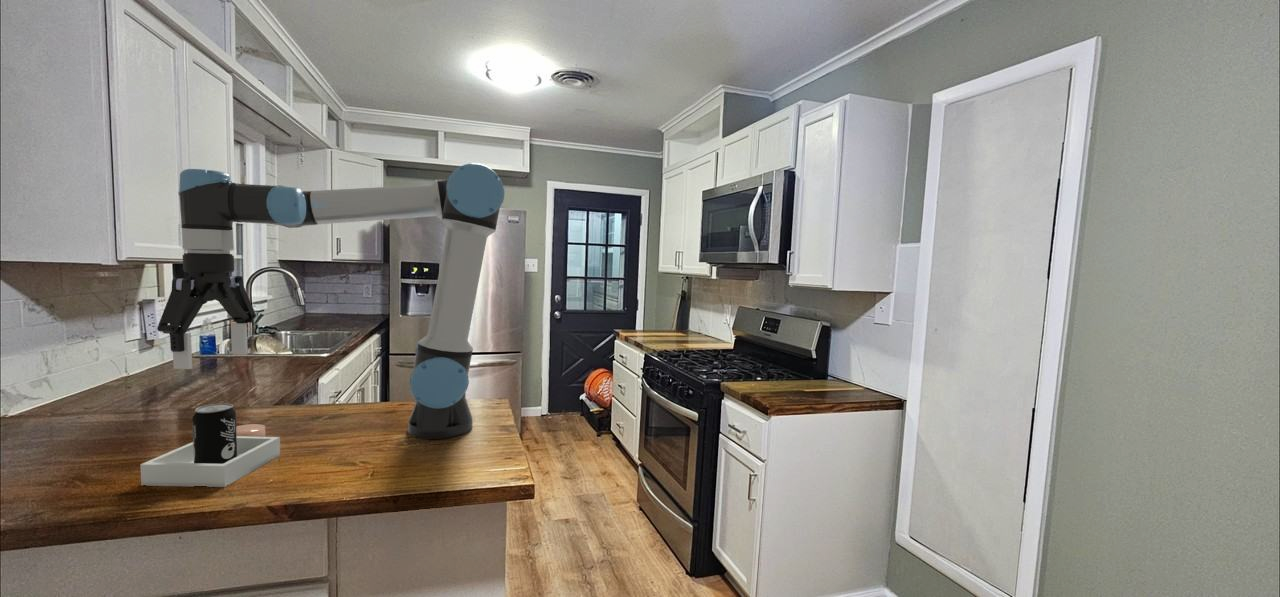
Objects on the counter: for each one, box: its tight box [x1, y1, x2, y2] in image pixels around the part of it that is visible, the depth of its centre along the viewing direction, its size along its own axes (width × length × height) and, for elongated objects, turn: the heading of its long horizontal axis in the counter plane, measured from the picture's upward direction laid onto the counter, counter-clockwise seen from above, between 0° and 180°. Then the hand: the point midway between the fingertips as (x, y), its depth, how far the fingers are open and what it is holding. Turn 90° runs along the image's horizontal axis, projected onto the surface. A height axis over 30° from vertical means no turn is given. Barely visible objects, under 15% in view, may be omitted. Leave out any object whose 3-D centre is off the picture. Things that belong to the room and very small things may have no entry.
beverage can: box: [191, 402, 237, 464], centre depth 100 cm, size 7×7×12 cm
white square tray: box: [139, 436, 281, 488], centre depth 100 cm, size 15×15×4 cm
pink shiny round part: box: [236, 423, 266, 437], centre depth 114 cm, size 8×8×3 cm
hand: (213, 361), depth 99 cm, fingers open, 13 cm apart
